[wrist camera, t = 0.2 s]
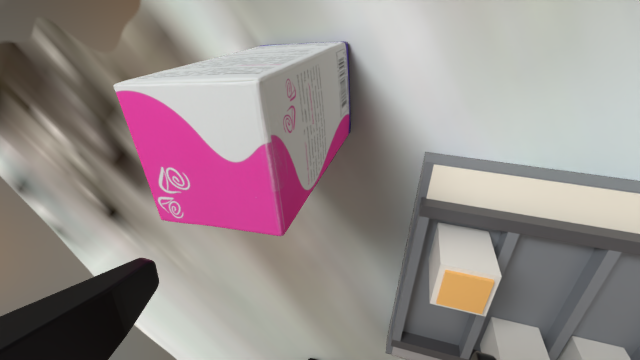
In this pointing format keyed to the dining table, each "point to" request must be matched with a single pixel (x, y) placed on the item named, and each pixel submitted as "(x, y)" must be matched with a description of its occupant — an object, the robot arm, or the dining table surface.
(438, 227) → the switch tab
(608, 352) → the switch tab
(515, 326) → the switch tab
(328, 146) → the supplement box
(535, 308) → the switch bank
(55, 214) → the dining table surface
